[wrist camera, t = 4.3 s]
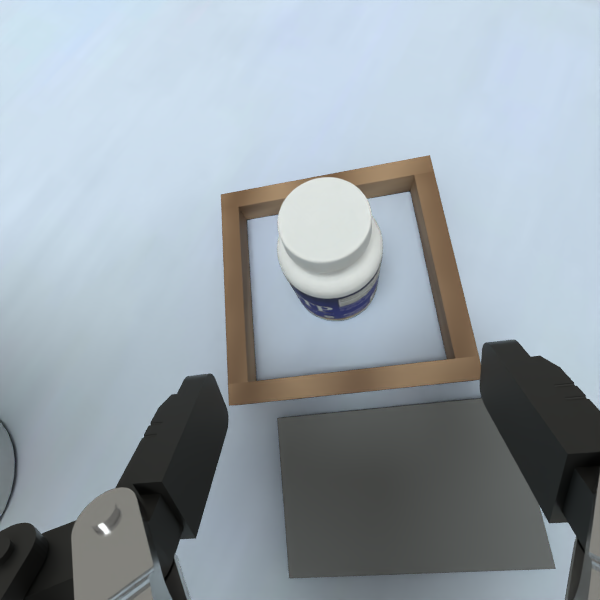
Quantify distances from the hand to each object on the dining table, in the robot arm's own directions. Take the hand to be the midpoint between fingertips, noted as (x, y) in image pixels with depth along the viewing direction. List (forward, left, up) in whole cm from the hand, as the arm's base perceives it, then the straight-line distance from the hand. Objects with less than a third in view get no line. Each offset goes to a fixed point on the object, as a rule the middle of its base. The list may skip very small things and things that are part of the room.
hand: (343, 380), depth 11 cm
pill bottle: (0, +7, -11) cm, 13 cm away
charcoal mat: (+2, -5, -11) cm, 12 cm away
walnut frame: (0, +7, -11) cm, 13 cm away
